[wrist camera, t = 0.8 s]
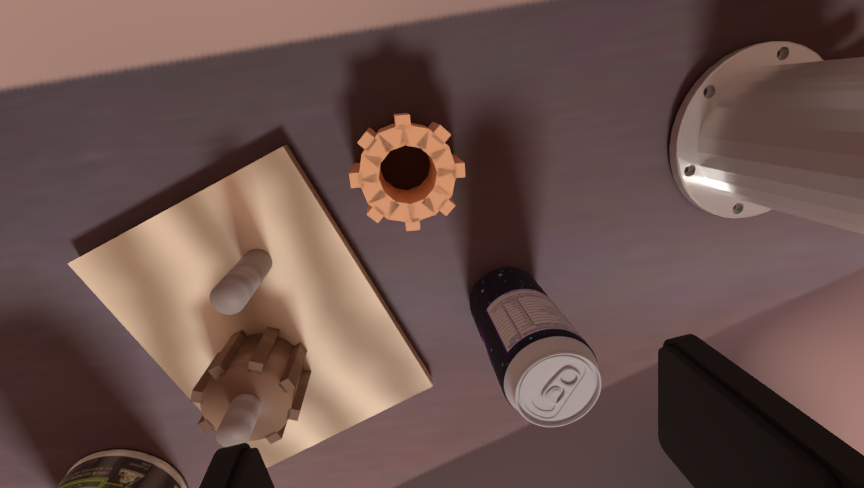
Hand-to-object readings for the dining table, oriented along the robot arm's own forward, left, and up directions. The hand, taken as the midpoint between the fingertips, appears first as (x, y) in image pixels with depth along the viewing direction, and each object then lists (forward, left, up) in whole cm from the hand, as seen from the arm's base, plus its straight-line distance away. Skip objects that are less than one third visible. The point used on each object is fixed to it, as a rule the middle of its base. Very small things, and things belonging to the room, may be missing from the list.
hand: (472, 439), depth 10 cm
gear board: (+14, +3, -23) cm, 27 cm away
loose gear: (-1, -3, -23) cm, 23 cm away
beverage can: (-3, +10, -23) cm, 25 cm away
